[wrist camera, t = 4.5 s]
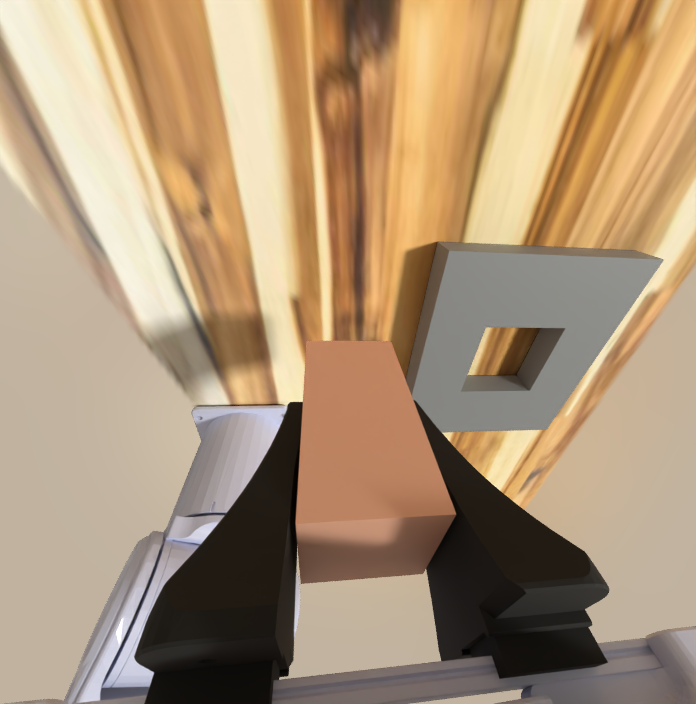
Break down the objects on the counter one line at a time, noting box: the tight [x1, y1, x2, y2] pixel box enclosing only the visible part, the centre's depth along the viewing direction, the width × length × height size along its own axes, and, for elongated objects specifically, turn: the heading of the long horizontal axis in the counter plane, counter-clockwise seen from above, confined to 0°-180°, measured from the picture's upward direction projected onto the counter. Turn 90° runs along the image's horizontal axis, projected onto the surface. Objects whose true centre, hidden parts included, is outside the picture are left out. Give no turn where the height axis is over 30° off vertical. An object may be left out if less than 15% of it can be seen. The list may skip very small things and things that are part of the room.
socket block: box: [406, 242, 663, 432], centre depth 23 cm, size 16×14×2 cm
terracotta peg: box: [296, 341, 456, 584], centre depth 11 cm, size 4×4×8 cm
